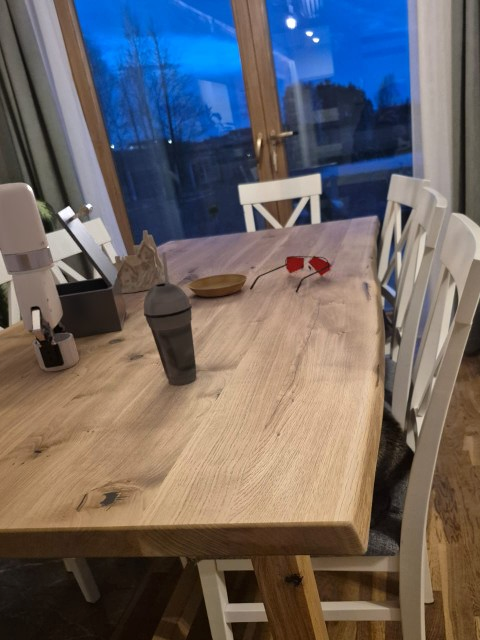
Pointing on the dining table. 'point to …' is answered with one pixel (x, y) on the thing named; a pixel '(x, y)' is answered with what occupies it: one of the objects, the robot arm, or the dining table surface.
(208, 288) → the plant saucer
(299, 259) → the glasses
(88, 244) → the grey box lid
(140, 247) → the ceramic cottage
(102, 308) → the dark grey open box
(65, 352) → the ceramic bowl
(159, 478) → the dining table surface
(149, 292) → the beverage cup
